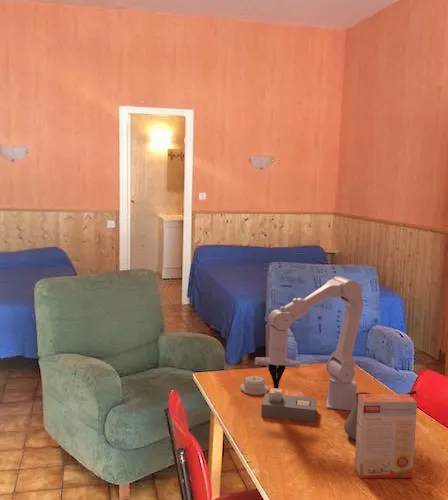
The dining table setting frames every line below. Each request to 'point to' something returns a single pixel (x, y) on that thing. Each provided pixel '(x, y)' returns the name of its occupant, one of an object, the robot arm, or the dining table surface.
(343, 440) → the dining table surface
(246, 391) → the mechanical component
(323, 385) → the dining table surface
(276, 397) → the greyish pink cube
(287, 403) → the block
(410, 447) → the cracker box
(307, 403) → the pink matte cube
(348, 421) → the coffee pot
